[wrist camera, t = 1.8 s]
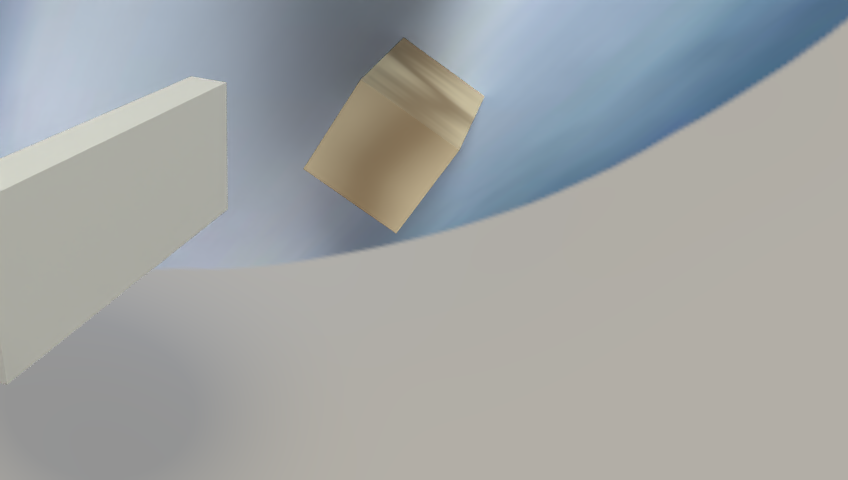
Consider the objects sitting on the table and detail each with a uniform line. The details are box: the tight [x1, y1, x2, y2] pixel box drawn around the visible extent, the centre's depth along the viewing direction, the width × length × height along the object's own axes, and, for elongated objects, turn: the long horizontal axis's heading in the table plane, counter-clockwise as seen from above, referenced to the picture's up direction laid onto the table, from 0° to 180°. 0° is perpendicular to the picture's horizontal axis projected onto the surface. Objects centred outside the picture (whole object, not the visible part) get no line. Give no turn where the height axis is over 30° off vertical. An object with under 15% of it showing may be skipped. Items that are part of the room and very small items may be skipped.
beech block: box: [304, 38, 484, 233], centre depth 37 cm, size 5×5×8 cm
